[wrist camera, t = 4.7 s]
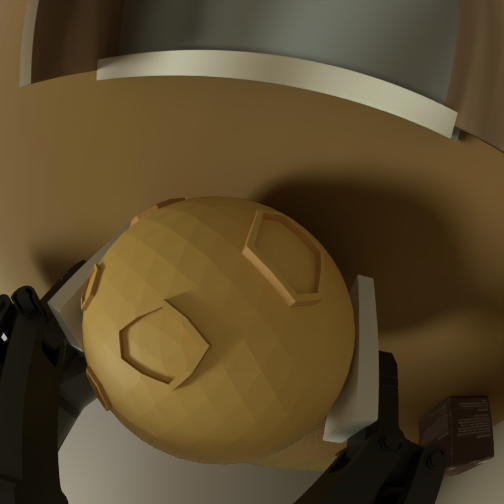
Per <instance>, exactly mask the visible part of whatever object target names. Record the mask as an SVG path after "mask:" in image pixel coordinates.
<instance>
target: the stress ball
mask: <svg viewBox="0 0 504 504" xmlns="http://www.w3.org/2000/svg"><path fill="white" fill-rule="evenodd" d="M81 310H84V311H83V321H82V325H81V329H82V343H83V350H84V354H85V358H86V362H87V366H88V367H87V368H86V373H87V377H88V379H89V382H90V384H91V386H92V388H93V390H94V392H95V394H96V396H97V398H98V399H99V401H100V402H101V404H102V405H103V407H104V408H105V409H106V411H108V410H111V411H112V413H113V414H114V415H115V416H116V417H117V418H118V420H119V421H120V422H121V423H122V424H123V425H124V426H125V427H126V428H128V429H129V430H130V431H131V432H132V433H134V434H135V435H136V436H137V437H139V438H140V439H141V440H143V441H144V442H146V443H148V444H149V445H151V446H153V447H155V448H156V449H158V450H161V451H163V452H165V453H168V454H170V455H172V456H175V457H178V458H181V459H185V460H190V461H193V462H198V463H204V464H223V465H226V464H236V463H245V462H250V461H253V460H257V459H261V458H265V457H267V456H270V455H272V454H275V453H277V452H280V451H281V450H283V449H285V448H287V447H288V446H290V445H292V444H293V443H295V442H297V441H298V440H299V439H301V438H302V437H303V436H305V435H306V434H308V433H309V432H310V431H311V430H312V429H313V428H314V427H315V426H316V425H317V424H318V423H319V422H320V421H321V420H322V419H323V418H324V417H325V416H326V414H327V413H328V411H329V410H330V408H331V407H332V406H333V404H334V402H335V401H336V399H337V398H338V396H339V395H340V392H341V390H342V388H343V385H344V383H345V381H346V378H347V376H348V374H349V370H350V366H351V361H352V357H353V352H354V341H355V324H354V314H353V308H352V304H351V300H350V296H349V292H348V289H347V287H346V284H345V282H344V279H343V277H342V275H341V273H340V271H339V269H338V268H337V266H336V264H335V262H334V260H333V259H332V258H331V256H330V255H329V254H328V252H327V251H326V250H325V248H324V247H323V246H322V245H321V244H320V242H319V241H318V240H317V239H316V238H315V237H314V236H313V235H312V234H311V233H310V232H308V231H307V230H306V229H305V228H304V227H302V226H301V225H300V224H298V223H297V222H296V221H294V220H293V219H291V218H290V217H288V216H286V215H284V214H283V213H281V212H279V211H277V210H275V209H273V208H271V207H268V206H265V205H263V204H260V203H257V202H254V201H249V200H245V199H240V198H233V197H218V196H213V197H201V198H192V199H188V200H185V199H184V198H176V199H169V200H166V201H164V202H161V203H158V204H156V205H154V206H152V207H150V208H149V209H147V210H145V211H143V212H142V213H140V214H138V215H136V217H135V218H134V219H133V220H132V221H131V224H130V227H129V228H128V229H127V230H126V231H125V232H123V233H122V234H121V236H120V237H119V238H118V239H117V240H116V241H115V242H114V243H113V245H112V246H111V247H110V248H109V250H108V251H107V252H106V254H105V255H104V257H103V258H102V259H101V261H100V263H99V265H98V264H96V263H95V265H94V266H93V268H92V270H91V272H90V274H89V275H88V277H87V280H86V283H85V287H84V290H83V293H82V297H81Z"/></svg>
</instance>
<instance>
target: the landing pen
mask: <svg viewBox="0 0 504 504" xmlns="http://www.w3.org/2000/svg"><path fill="white" fill-rule="evenodd" d="M96 70H97V80H103V79H111V78H122V77H135V76H157V75H191V76H213V77H227V78H237V79H247V80H255V81H262V82H269V83H275V84H281V85H287V86H293V87H298V88H303V89H307V90H312V91H317V92H321V93H325V94H329V95H333V96H337V97H341V98H344V99H348V100H351V101H355V102H358V103H361V104H365V105H368V106H371V107H374V108H377V109H380V110H383V111H386V112H389V113H391V114H394V115H397V116H399V117H402V118H405V119H407V120H410V121H412V122H415V123H417V124H419V125H422V126H424V127H426V128H429V129H431V130H433V131H435V132H438V133H440V134H442V135H444V136H446V137H448V138H453V139H455V140H457V141H458V138H459V134H460V131H461V130H462V131H464V132H466V133H468V134H470V135H472V136H474V137H476V138H478V139H480V140H482V141H484V142H485V143H487V144H489V145H491V146H493V147H494V148H496V149H498V150H499V151H501V152H503V153H504V0H28V2H27V7H26V13H25V19H24V26H23V33H22V43H21V56H20V87H23V86H26V85H30V84H33V83H37V82H41V81H44V80H49V79H53V78H57V77H62V76H67V75H72V74H77V73H83V72H89V71H96Z"/></svg>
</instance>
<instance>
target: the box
mask: <svg viewBox="0 0 504 504" xmlns="http://www.w3.org/2000/svg"><path fill="white" fill-rule="evenodd" d="M432 444H438V445H440V446H442V447H443V448H444V450H445V451H446V454H447V464H446V468H445V472H444V475H443V477H445V476H452V475H457V474H460V473H463V472H465V471H467V470H469V469H472V468H473V467H476V466H478V465H480V464H482V463H484V462H486V461H488V460H490V459H491V458H493V457H494V442H493V431H492V421H491V414H490V406H489V400H488V396H486V397H468V398H451V397H450V398H448V399H447V400H446V401H444V402H443V403H442V404H441V405H439V406H438V407H437V408H436V409H435V410H433V411H432V412H431V413H429V414H428V415H427V416H425V417H424V418H423V419H421V420H420V421H419V445H420V446H423V447H427V446H430V445H432Z"/></svg>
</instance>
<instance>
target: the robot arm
mask: <svg viewBox="0 0 504 504" xmlns="http://www.w3.org/2000/svg"><path fill="white" fill-rule="evenodd" d="M130 224H131V222H130V223H128V224H127V225H126V226H125V227H124V228H123V229H122V230H120V231H119V232H118V233H117V234H116V235H115V236H114V237H113V238H112V239H110V240H109V241H108V242H107V243H106V244H105V245H104V246H103V247H102V248H101V249H100V250H99V251H97V252H96V253H95V254H94V255H93V256H92V257H91V258H90V259H89V260H88V261H85V260H83V261H81V262H79V263H77V264H75V265H74V266H73V267H72V268H71V269H70V270H69V271H68V272H67V274H65V275H64V276H63V277H62V278H61V280H59V281H58V282H57V283H56V284H55V285H54V286H53V287H52V288H51V289H50V290H49V291H48V292H47V293H46V294H45V295H44V297H43V298H42V299H41V300H39V298H38V296H37V294H36V292H35V290H34V288H32V287H31V286H23V287H21V288H19V289H17V290H16V291H15V292H14V293H13V295H12V296H11V299H12V301H13V303H12V301H11V300H10V298H9V296H8V295H6V294H2V295H0V504H68V500H67V498H66V496H65V495H64V493H63V492H62V491H61V487H60V479H59V465H58V451H59V449H60V447H61V445H62V444H63V442H64V440H65V439H66V437H67V435H68V433H69V432H70V430H71V428H72V426H73V425H74V423H75V421H76V420H77V418H78V416H79V415H80V413H81V411H82V410H83V409H84V407H86V406H87V405H88V404H90V403H91V402H92V401H93V400H95V399H96V398H97V396H96V394H95V392H94V390H93V388H92V386H91V384H90V382H89V379H88V377H87V373H86V368H87V367H88V366H87V362H86V358H85V354H84V350H83V343H82V329H81V325H82V321H83V311H84V310H81V297H82V293H83V290H84V287H85V283H86V280H87V277H88V275H89V274H90V272H91V270H92V268H93V266H94V265H95V263H96V264H98V265H99V263H100V261H101V259H102V258H103V257H104V255H105V254H106V252H107V251H108V250H109V248H110V247H111V246H112V245H113V243H114V242H115V241H116V240H117V239H118V238H119V237H120V236H121V234H122V233H123V232H125V231H126V230H127V229H128V228H129V227H130ZM349 296H350V300H351V304H352V308H353V314H354V324H355V341H354V352H353V357H352V361H351V366H350V370H349V374H348V376H347V378H346V381H345V383H344V385H343V388H342V390H341V392H340V395H339V396H338V398H337V399H336V401H335V402H334V404H333V406H332V407H331V408H330V410H329V411H328V413H327V419H326V425H325V431H324V436H323V440H324V441H331V442H339V443H342V442H344V441H345V440H347V439H348V442H347V447H346V448H344V449H343V450H341V451H339V452H338V453H336V454H335V455H336V456H338V457H337V458H336V459H335V461H334V462H333V463H332V464H331V465H330V466H329V467H328V469H327V470H326V471H325V472H324V473H323V474H322V475H321V476H320V477H319V478H318V480H317V481H316V482H315V483H314V484H313V485H312V486H311V487H310V488H309V489H308V490H307V491H306V492H305V493H304V494H303V495H302V496H301V497H300V498H299V499H298V500H297V501H296V502H295V503H293V504H435V501H436V498H437V495H438V492H439V489H440V485H441V482H442V479H443V475H444V472H445V468H446V464H447V454H446V451H445V450H444V448H443V447H442V446H440V445H438V444H432V445H430V446H427V447H423V446H420V445H418V444H416V443H413V442H411V441H409V440H407V439H406V438H405V437H404V434H403V432H402V431H401V430H400V428H399V424H398V389H397V387H398V379H397V377H398V372H397V363H396V361H395V359H394V356H393V354H392V353H388V352H383V351H378V329H377V313H376V301H375V290H374V281H373V278H369V277H366V276H362V275H357V278H356V280H355V282H354V284H353V286H352V288H351V290H350V292H349ZM3 333H4V334H5V335H6V337H7V340H6V341H3V339H2V338H1V336H2V334H3Z"/></svg>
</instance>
